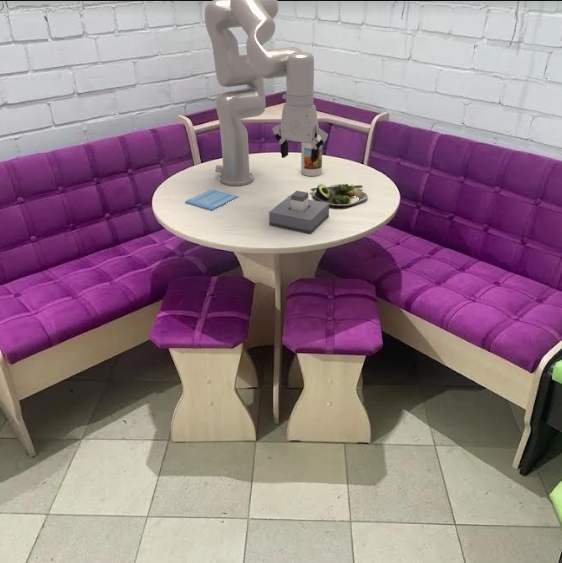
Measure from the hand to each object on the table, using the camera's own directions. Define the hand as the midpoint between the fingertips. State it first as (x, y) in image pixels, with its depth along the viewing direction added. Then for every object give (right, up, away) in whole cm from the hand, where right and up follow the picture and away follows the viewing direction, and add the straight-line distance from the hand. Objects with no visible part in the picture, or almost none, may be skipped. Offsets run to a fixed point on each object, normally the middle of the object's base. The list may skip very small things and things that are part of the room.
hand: (299, 158), depth 167 cm
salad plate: (+14, -8, +26) cm, 30 cm away
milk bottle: (+6, +4, +46) cm, 47 cm away
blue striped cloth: (-29, -9, +25) cm, 40 cm away
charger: (0, -16, +10) cm, 19 cm away
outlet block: (0, -17, +10) cm, 20 cm away
